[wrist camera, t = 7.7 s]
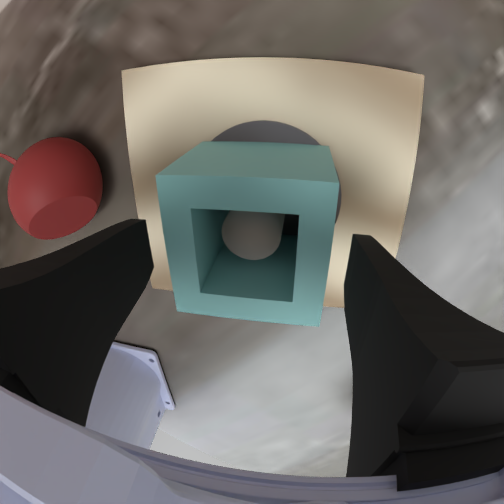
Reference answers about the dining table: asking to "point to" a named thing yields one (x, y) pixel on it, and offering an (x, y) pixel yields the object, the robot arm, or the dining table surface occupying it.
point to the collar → (255, 200)
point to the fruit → (54, 188)
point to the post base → (280, 131)
